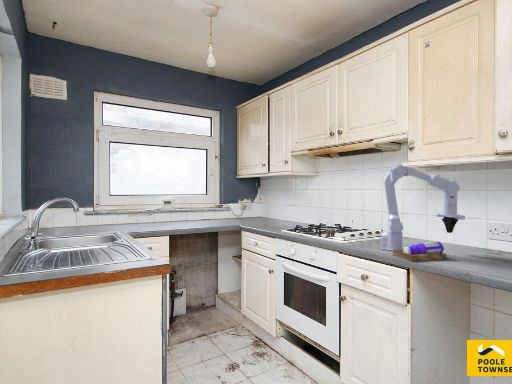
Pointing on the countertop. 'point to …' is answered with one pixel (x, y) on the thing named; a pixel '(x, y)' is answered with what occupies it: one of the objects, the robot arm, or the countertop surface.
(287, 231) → the countertop surface
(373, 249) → the countertop surface
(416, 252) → the bottle
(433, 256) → the cradle
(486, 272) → the countertop surface
